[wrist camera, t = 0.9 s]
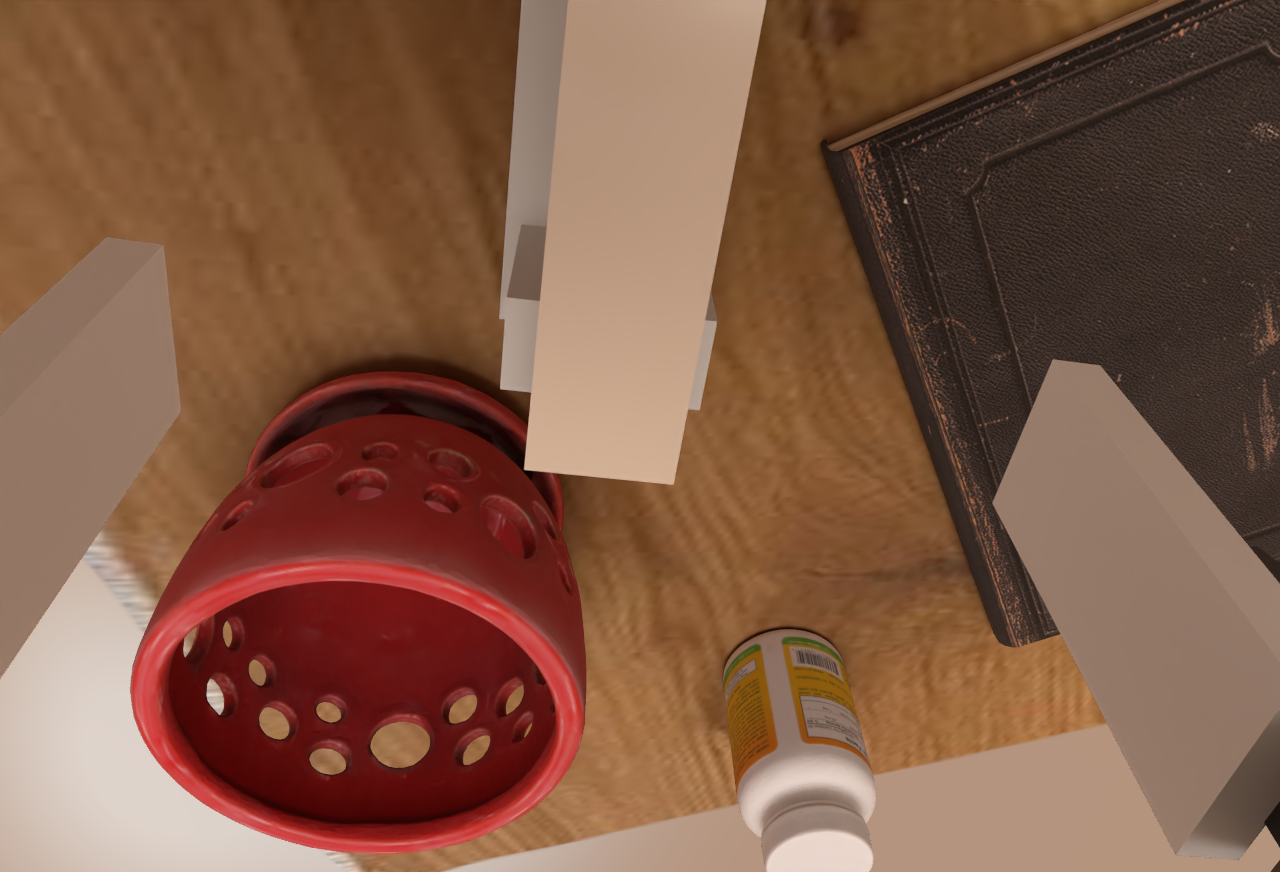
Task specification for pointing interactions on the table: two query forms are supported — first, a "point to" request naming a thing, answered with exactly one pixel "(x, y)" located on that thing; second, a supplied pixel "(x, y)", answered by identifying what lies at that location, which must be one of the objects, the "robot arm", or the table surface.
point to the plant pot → (373, 623)
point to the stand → (542, 196)
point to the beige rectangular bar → (635, 228)
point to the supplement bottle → (799, 754)
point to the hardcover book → (1087, 260)
